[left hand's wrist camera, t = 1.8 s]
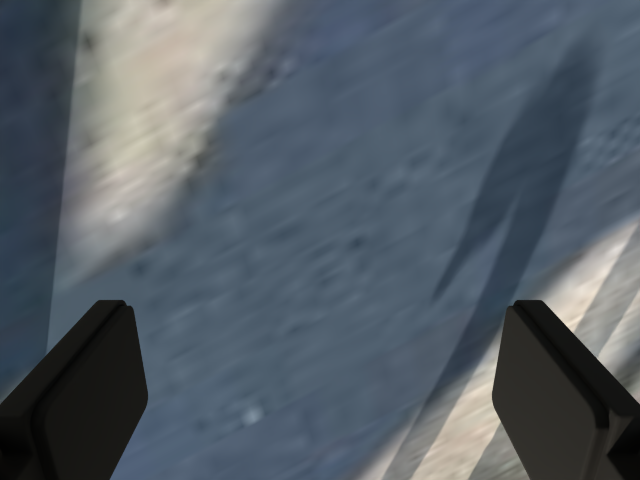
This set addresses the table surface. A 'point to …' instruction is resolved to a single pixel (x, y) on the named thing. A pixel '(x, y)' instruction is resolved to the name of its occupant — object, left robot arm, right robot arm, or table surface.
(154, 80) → the table surface
